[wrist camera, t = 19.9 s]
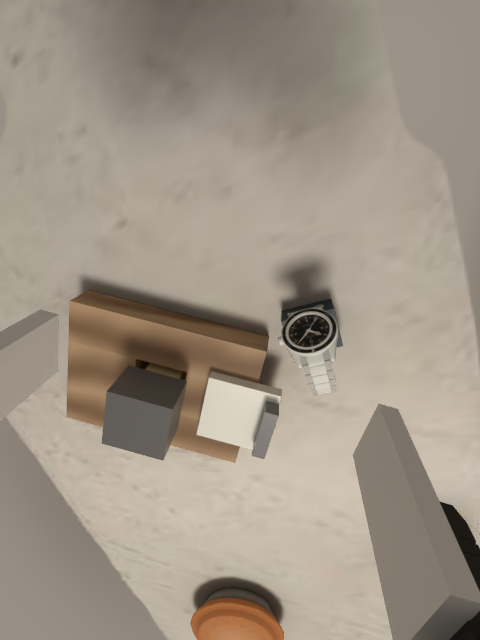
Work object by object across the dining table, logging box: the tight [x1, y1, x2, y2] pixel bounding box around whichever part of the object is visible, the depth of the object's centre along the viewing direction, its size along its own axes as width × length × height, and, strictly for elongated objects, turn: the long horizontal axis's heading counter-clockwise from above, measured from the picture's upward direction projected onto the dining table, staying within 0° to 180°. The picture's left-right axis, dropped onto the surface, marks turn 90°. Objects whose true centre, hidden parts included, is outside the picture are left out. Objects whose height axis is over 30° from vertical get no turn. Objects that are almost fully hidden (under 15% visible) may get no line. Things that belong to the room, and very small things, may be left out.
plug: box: [102, 363, 187, 460], centre depth 39 cm, size 6×6×11 cm
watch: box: [278, 299, 343, 395], centre depth 34 cm, size 6×8×11 cm
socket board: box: [67, 290, 269, 463], centre depth 42 cm, size 16×22×4 cm
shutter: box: [197, 371, 282, 459], centre depth 38 cm, size 8×8×3 cm
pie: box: [191, 588, 284, 640], centre depth 58 cm, size 15×16×5 cm
